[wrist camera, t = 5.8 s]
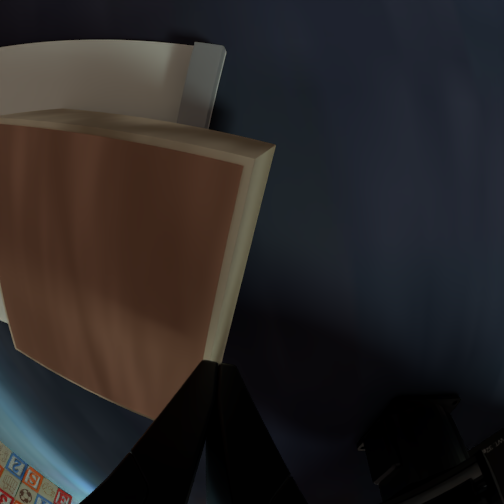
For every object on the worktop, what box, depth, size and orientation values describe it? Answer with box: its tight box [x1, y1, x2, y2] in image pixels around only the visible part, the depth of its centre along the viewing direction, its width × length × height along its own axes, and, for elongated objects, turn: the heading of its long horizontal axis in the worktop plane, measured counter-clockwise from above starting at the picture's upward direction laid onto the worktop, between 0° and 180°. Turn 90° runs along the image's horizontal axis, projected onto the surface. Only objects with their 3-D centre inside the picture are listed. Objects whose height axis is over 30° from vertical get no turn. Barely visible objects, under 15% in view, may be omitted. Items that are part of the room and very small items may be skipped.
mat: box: [0, 40, 226, 323], centre depth 13 cm, size 13×16×1 cm
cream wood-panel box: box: [0, 108, 276, 420], centre depth 11 cm, size 4×10×9 cm
